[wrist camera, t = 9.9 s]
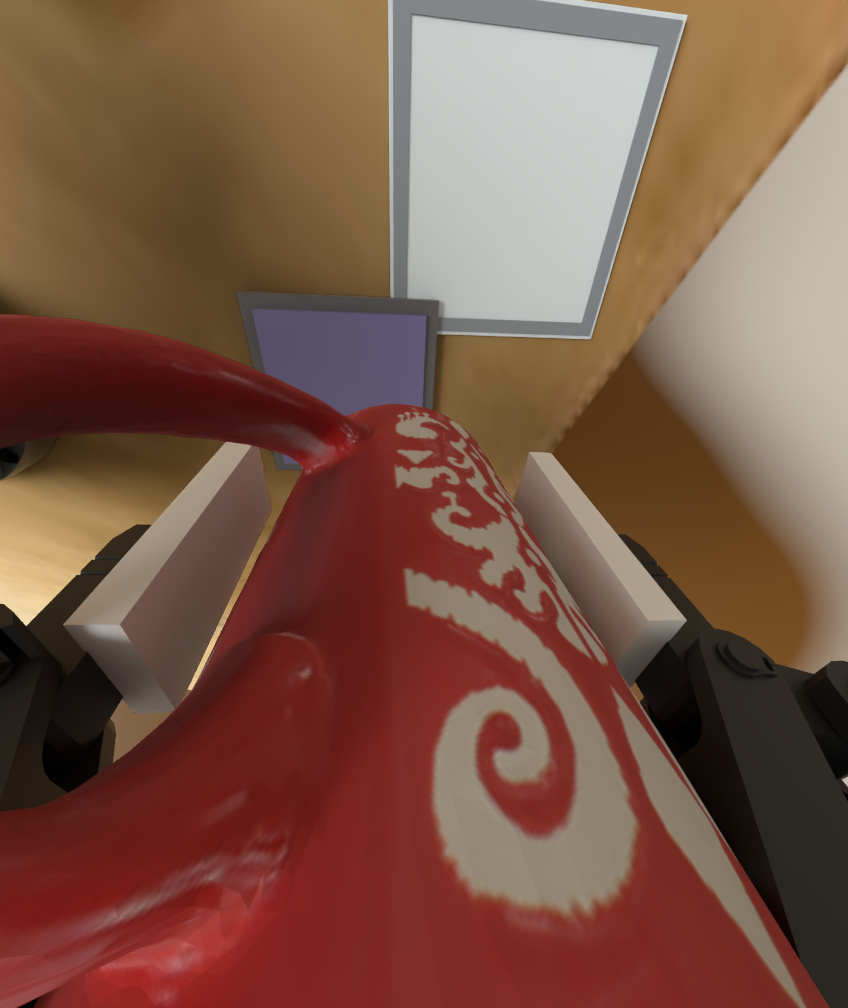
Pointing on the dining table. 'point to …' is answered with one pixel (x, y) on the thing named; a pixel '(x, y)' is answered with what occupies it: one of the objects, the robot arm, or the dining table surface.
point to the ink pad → (344, 348)
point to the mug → (368, 749)
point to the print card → (518, 154)
